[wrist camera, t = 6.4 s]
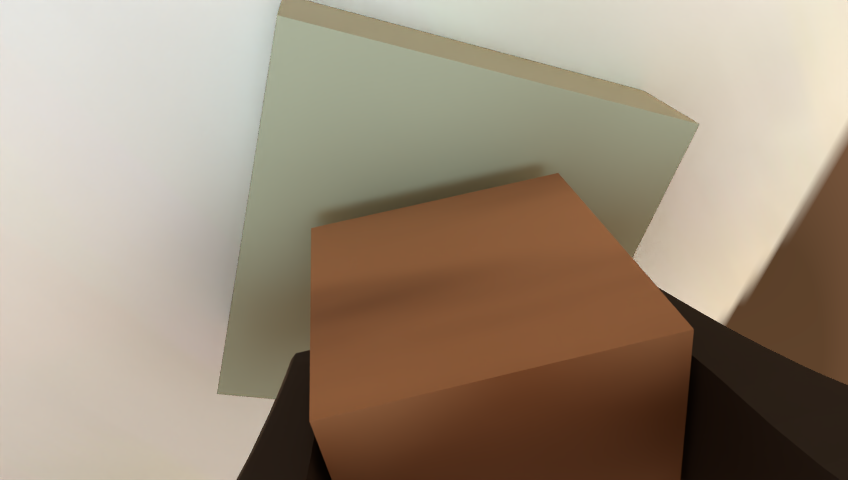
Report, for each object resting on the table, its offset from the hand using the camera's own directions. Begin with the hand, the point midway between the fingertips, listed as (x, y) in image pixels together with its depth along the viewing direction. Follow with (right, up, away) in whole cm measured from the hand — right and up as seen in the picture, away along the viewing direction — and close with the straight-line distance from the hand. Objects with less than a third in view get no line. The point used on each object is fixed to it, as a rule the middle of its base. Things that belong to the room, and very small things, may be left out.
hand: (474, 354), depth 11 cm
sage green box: (-1, +3, +5) cm, 6 cm away
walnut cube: (0, +1, +2) cm, 2 cm away
